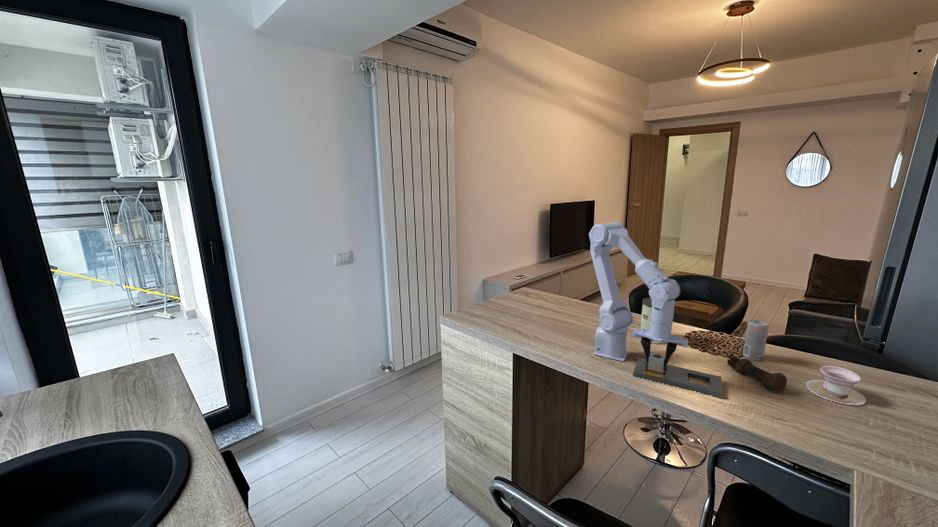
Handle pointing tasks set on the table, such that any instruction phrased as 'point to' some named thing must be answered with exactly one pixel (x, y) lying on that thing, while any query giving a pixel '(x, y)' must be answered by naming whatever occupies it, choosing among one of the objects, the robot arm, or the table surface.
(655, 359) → the nut block
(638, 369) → the rail
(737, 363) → the dark brown lumpy rod
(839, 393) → the teacup
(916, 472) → the table surface
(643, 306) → the coffee can
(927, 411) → the table surface
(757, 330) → the energy drink
